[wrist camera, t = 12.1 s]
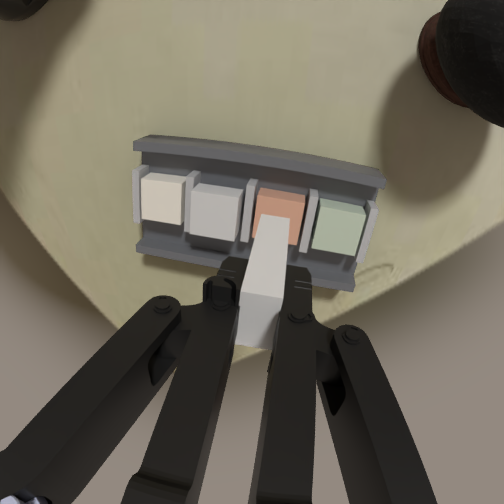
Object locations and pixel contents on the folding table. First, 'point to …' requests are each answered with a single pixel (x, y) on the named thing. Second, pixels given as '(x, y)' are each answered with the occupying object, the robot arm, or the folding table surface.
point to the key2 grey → (215, 211)
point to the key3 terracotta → (280, 209)
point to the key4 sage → (337, 227)
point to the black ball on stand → (467, 55)
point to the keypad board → (255, 200)
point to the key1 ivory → (163, 198)
